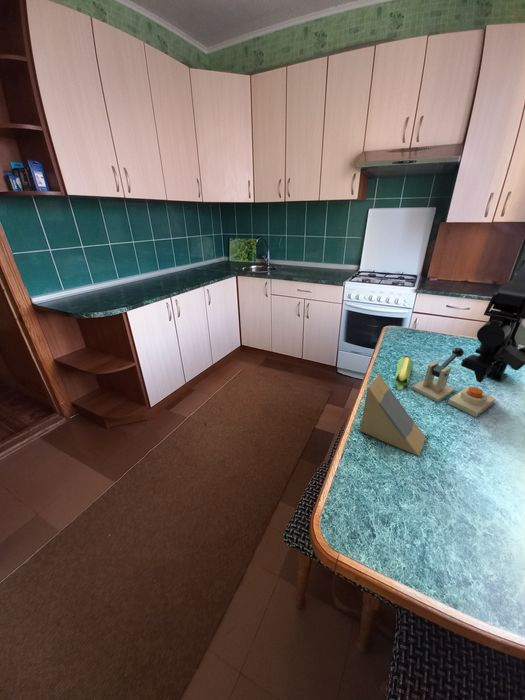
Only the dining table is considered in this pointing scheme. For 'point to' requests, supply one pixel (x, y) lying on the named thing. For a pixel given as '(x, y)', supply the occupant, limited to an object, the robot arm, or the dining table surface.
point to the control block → (471, 402)
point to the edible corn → (403, 371)
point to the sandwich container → (389, 419)
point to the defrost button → (475, 392)
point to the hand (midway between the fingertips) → (479, 381)
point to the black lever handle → (448, 361)
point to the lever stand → (434, 384)
